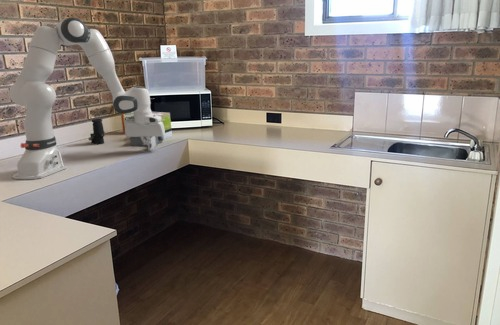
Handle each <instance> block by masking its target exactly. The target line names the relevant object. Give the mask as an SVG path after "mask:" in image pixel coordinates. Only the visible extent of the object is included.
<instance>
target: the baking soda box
mask: <svg viewBox="0 0 500 325" xmlns="http://www.w3.org/2000/svg"><path fill="white" fill-rule="evenodd" d="M120 119H121V127H122V133H123V135H124V136H126V135H125V125H124V121H125V120H126V119H134V112H130V113H127V114H121V113H120ZM126 121H127V120H126Z"/></svg>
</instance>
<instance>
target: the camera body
mask: <svg viewBox="0 0 500 325" xmlns="http://www.w3.org/2000/svg"><path fill="white" fill-rule="evenodd" d="M129 138H130V140H129V141H130V145H131V146H132V147H133V146H137V147H139V146H141V147H143V146H147V147H148V145H144V143H143V141H142V140H141V137H129ZM150 138H151V137H150ZM144 139H145V141H147V139H146V137H145V138H144ZM163 139H164V135H163V136H155V140H156V146H157V145H158V144H160V143H162V142H163V141H164V140H165V139H164V140H163Z"/></svg>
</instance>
